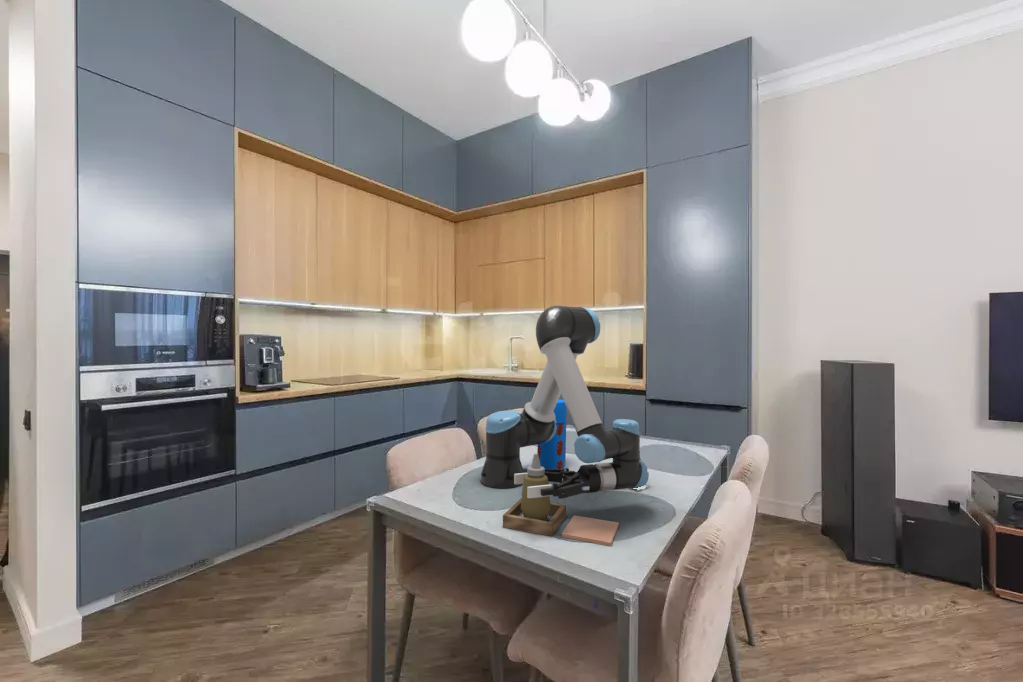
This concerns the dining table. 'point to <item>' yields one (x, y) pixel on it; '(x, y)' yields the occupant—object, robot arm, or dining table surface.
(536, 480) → the squeeze bottle
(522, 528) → the bottle holder
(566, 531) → the tile
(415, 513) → the dining table surface
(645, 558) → the dining table surface
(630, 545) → the dining table surface
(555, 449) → the thermos
